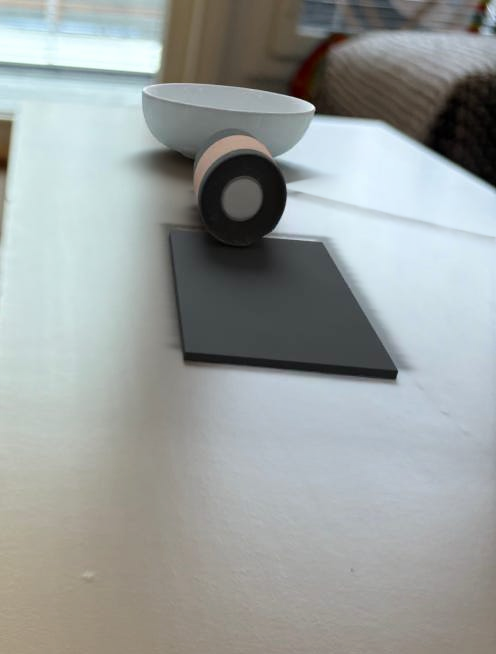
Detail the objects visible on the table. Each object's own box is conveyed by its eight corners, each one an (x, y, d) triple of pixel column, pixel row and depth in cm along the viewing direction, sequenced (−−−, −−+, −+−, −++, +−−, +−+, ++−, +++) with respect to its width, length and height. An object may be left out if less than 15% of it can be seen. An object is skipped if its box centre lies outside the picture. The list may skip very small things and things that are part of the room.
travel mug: (204, 115, 98) (214, 140, 81) (277, 135, 98) (302, 164, 81) (180, 196, 102) (185, 235, 85) (250, 215, 102) (269, 257, 86)
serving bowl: (269, 185, 111) (282, 117, 106) (106, 156, 119) (113, 92, 115) (324, 159, 125) (338, 99, 121) (176, 135, 133) (184, 77, 129)
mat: (169, 235, 90) (170, 229, 90) (320, 248, 90) (322, 241, 89) (183, 360, 65) (185, 351, 64) (396, 379, 64) (398, 370, 64)
